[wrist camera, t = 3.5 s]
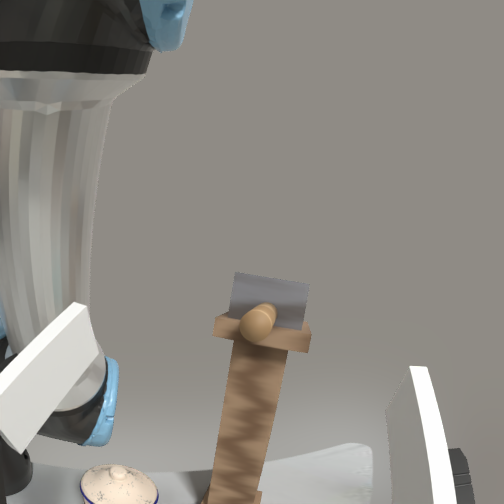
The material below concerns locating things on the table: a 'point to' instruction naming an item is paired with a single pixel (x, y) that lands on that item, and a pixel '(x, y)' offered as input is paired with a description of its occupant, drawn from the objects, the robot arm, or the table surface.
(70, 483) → the table surface
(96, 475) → the teacup with lid
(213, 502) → the stand
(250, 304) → the mallet
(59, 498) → the table surface
